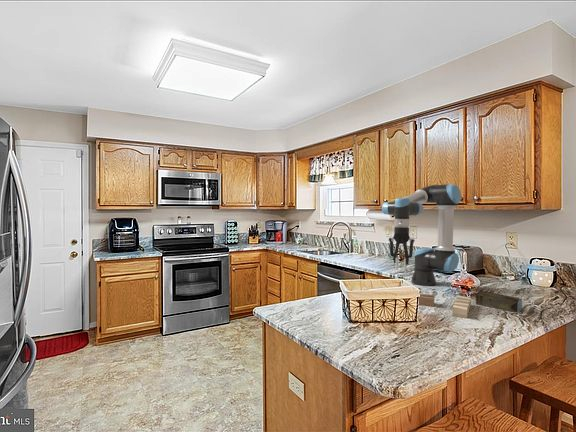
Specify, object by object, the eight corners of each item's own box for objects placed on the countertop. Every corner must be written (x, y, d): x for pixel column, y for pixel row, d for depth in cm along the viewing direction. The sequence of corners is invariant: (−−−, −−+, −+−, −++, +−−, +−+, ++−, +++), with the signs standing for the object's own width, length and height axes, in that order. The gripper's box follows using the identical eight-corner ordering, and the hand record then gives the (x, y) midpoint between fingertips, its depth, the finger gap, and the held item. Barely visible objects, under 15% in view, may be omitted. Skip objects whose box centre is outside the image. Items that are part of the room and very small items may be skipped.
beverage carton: (518, 313, 162) (518, 300, 162) (474, 304, 176) (475, 292, 176) (522, 310, 167) (522, 297, 167) (480, 301, 181) (480, 289, 181)
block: (414, 301, 182) (414, 293, 181) (434, 303, 177) (434, 295, 177) (413, 304, 175) (413, 296, 175) (433, 307, 171) (434, 298, 171)
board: (457, 303, 178) (458, 295, 177) (470, 305, 174) (470, 297, 174) (452, 315, 157) (452, 307, 157) (466, 318, 154) (467, 309, 154)
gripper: (384, 226, 183) (383, 269, 183) (416, 227, 174) (415, 272, 174) (388, 225, 189) (387, 267, 190) (419, 227, 180) (418, 270, 181)
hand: (400, 269), depth 182 cm, fingers open, 4 cm apart
